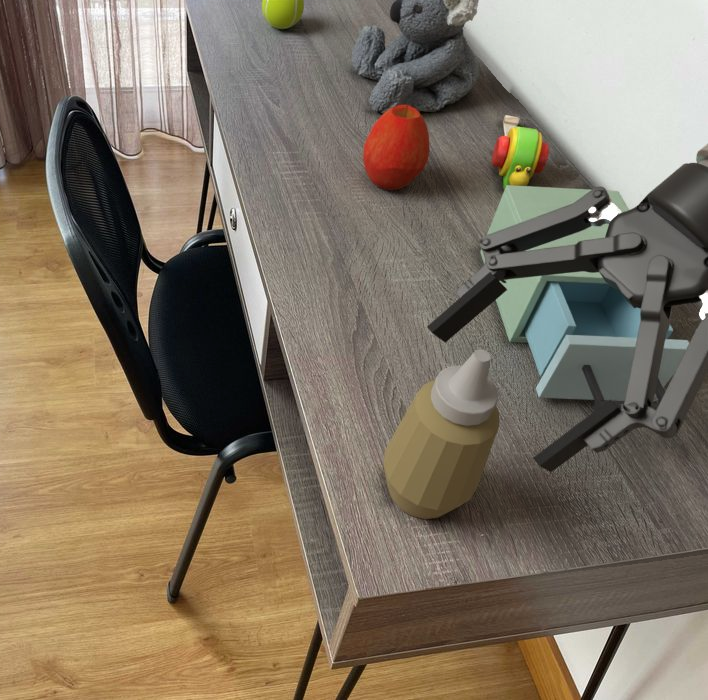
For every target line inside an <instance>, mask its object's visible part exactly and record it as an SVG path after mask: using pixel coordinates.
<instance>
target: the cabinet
mask: <svg viewBox="0 0 708 700" xmlns="http://www.w3.org/2000/svg"><path fill="white" fill-rule="evenodd" d="M591 190H592V189H587V188H586V189H585V188H568V187H567V188H566V187H549V186H529V185H527V186H513V185H506V188H505V190H504V189H503V193H502V195H501V198H500V200H499V204H498V206H497V208H496V211H495V213H494V216H493V218H492V221H491V224H490V226H489V229H488V232H487V234H486V235H489V234H491V233H494V232H497V231H500V230H502V229H505V228H508V227H510V226H513V225H516V224H518V223H521V222H524V221H527V220H529V219H532V218H535V217H537V216H540V215H543V214H546V213H548V212H551V211H554V210H556V209H559V208H562V207H565V206H567V205H570V204H573V203H574V202H576V201H577V200H579V199H580V198H581V197H583V196H584V195H585V194H587V193H588V192H590V191H591ZM606 191H607V192H608V194H609V196H610V198H611V200H612V202H613V203H614V204H615V205H616V206H617V207H618V208H619V209H620V210H621V211H622V212H625V211H628V210H630V209H629V207H628V205H627V203H626V202H625V200H624V198H623V197H622V195H621V193H620V191H619V190H607V189H606ZM608 226H609V224H603V225H602V226H600V227H599V226H591V227H589V228H587V229H585V230H583V231H580V232H577V233H575V234H572V235H569V236H566V237H563V238H560V239H557V240H554V241H552V242H549V243H546V244H543V245H540V246H537V247H534V248H531V249H529V250H536V249H544V248H551V247H559V246H567V245H574V244H577V243H578V242H579V241H583V240H590V239H598V238H605V236H606V232H607V229H608ZM526 251H528V250H526ZM479 253H480V257H481V259H482V262H483V264H484V263H485V257H484V254H483V251H482V249H481V248H480V251H479ZM505 281H506V283H503V282H501V281H500V282H501V283H502V284H503V286H504V287H505V288H506V289H507V291H506V292H504V293H503V294H502V295H501V296H500V297H498V298H497V299H496V300H495V302H496V305H497V308H498V311H499V314H500V318H501V320H502V324H503V326H504V330H505V333H506V337H507V339H508V341H509V343H519V344H520V343H521V344H522V343H523V344H529V343H528V340H527V337H526V335H525V332H524V329H523V328H524V326H525V324H526V322H527V320H528V318H529V316H530V314H531V312H532V310H533V308H534V306H535V304H536V302H537V300H538V298H539V296H540V294H541V292H542V290H543V288H544V286H545V284H546V282H547V281H559V282H580V283H601V284H608V283H607V282H606V281H605V280H604V279H603V277H602V276H601V274H600V273H599V272H596V273H589V272H585V271H581V272H572V273H563V274H554V275H544V276H535V277H526V278H517V279H507V280H505Z"/></svg>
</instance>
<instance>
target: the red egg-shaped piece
mask: <svg viewBox="0 0 708 700" xmlns="http://www.w3.org/2000/svg"><path fill="white" fill-rule="evenodd" d="M362 154H363V155H362V161H363V166H364V170H365V172H366V174H367V177H368V178H369V181H370V182H371V183H372V184H373V185H375V187H377V188H380V189H383V190H387V191H388V190H399V189H402V188H405V187H406V186H408V184H410V183H411V182H412V181H413V180H414V179H415V178H416V177H418V176H419V175H420V174H421V173H423V171H424V170H425V167H426V165H427V163H428V161H429V157H430V134H429V130H428V126H427V123H426V120H425V118H424V117H423V115H422V114H421V113H420V112H418V111H417V110H416V109H415V108H413V107H411V106H409V105H398V106H395V107H393V108H390V109H389V110H387V111H386V112H385V113H384V114H383V113H382V115H380V117H379V118H378V119H377V120H376V121H375V122H374V124H373V125H372V128H371V129H370V132H369V134H368V136H367V137H366V141H365V142H364V145H363V153H362Z"/></svg>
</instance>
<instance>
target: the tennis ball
mask: <svg viewBox="0 0 708 700" xmlns="http://www.w3.org/2000/svg"><path fill="white" fill-rule="evenodd" d="M304 10H305V1H304V0H261V12H262V15H263V18H264V20H265V21H266V22H267V23H268V24H269V25H270V26H271V27H273V28H275V29H279V30H286V29H290V28H292V27H294V26H295V25H297V24H298V22H299V21H300V20H301V19H302V16H303V14H304Z"/></svg>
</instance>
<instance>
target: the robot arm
mask: <svg viewBox="0 0 708 700" xmlns="http://www.w3.org/2000/svg"><path fill="white" fill-rule="evenodd" d="M695 161H696V162H689V163H688V162H687V163H686V162H685V163H683V164H682V165H680V166H679V167H678V168H677V169H675V171H674V172H672V173H671V174H669V176H668V177H666V178H665V179H664V180H663V181H661V182H660V183H659V184H658V185H657V186H656V187H654V188H653V189H652V190H651V191H649V193H648V194H646V195H645V196H644V198H642V200H641V201H640V202H639V204H637V205H636V206H635V207H633V208H631V209H629V210H628V211H625V212H622V211H621V210H620V209H619V208H618V207H617V206H616V205H615V204H614V203H613V202H612V200H611V198H610V196H609V194H608V192H607V191H608V190H607V189H606V188H605V187H603V186H596V187H594V188H592V189H590V190H591V191H590V192H588V193H587V194H585V195H584V196H583V197H581V198H580V199H579V200H577V201H576V202H574V203H573V204H570V205H567V206H565V207H562V208H559V209H556V210H554V211H551V212H548V213H546V214H543V215H540V216H537V217H535V218H532V219H529V220H527V221H524V222H521V223H518V224H516V225H513V226H510V227H508V228H505V229H502V230H500V231H497V232H494V233H491V234H489V235H487V234H486V235H484V236H482V237H481V238H480V239H479V241H478V246H479V247H480V250H481V249H482V251H483V254H484V257H485V263H484V262H483V265H482V267H480V268H479V269H478V270H477V271H476V272H474V274H472V275H471V276H470V277H469V278H468V279H466V281H465V282H464V283H462V284H461V285H460V286H459V287H458V288H457V290H456V292H455V295H456V296H457V297H458V299H457V300H456V301H454V302H453V303H452V304H451V305H450V306H449V307H448V308H447V309H445V310H444V311H443V312H441V314H440V315H438V316H437V317H436V318H435V319H434V320H433V321H431V322H430V323H429V324H428V325H427V326H426V328H427V329H428V330H429V331H430V333H432V334H433V335H434V336H435V337H437V338H438V339H439V340H441V341H442V342H443V343H445V344H446V343H447V342H448V341H449V340H451V339H452V338H453V337H454V336H455V335H456V334H457V333H459V332H460V331H461V330H462V329H463V328H465V327H466V326H467V325H468V324H469V323H470V322H471V321H473V320H474V319H475V318H477V316H478V315H480V314H481V313H482V312H483V311H485V310H486V309H487V308H488V307H489V306H490V305H491V304H493V303H494V302H496V299H497V298H498V297H500V296H501V295H502V294H503V293H504V292H506V291H507V289H506V288H505V287H504V286H503V284H502V283H501V282H503V283H506V281H505V280H507V279H517V278H526V277H535V276H544V275H554V274H563V273H572V272H581V271H585V272H589V273H596V272H599V273H600V274H601V276H602V277H603V279H604V280H605V281H606V282H607V283H608V284H609V285H610V286H611V287H612V288H614V289H616V290H618V291H620V292H621V293H622V294H623V296H624V297H625V299H626V300H627V302H628V303H629V304H630V305H632V306H633V307H634V308H636V307H637V308H640V309H641V311H640V318H641V320H640V326H639V331H638V336H637V341H636V346H635V351H634V356H633V361H632V366H631V371H630V376H629V381H628V386H627V392H626V397H625V402H624V405H623V404H621V409H620V408H619V407H618V406H617V405H616V404H615V403H614V402H613V401H612V400H611V399H610V400H607V401H608V402H606V403H605V404H604V405H602V406H601V407H600V408H598V409H597V410H596V411H593V412H591V413H590V414H589V415H587V416H586V417H584V418H583V420H580V422H578V423H577V424H576V425H574V426H572V428H570V429H569V430H567V431H566V432H565V433H564V434H562V435H561V436H560V437H558V438H557V439H556V440H555V441H553V442H552V443H550V444H549V445H548V446H547V447H545V448H544V449H543V450H541V451H540V452H539V453H537V454H536V455H534V456H533V457H532V459H533V460H534V462H536V464H537V465H538V466H539V468H541V469H543V470H546V471H547V472H549V473H552V472H554V471H556V470H557V469H558V468H559V467H561V466H562V465H564V464H565V463H566V462H567V461H569V460H570V459H571V458H573V457H574V456H576V455H577V454H578V453H579V452H581V451H582V450H583V449H585V448H586V447H589V448H590V449H591V450H592V451H593V452H595V453H601V452H605V451H607V450H608V449H609V448H611V447H612V446H613V445H615V444H616V443H617V442H619V441H620V440H621V439H623V438H624V437H626V436H627V435H628V434H630V433H632V432H633V431H634V430H636V429H638V428H644V429H648V430H649V431H651V432H654V433H656V434H657V435H660V437H662V438H664V439H673V438H675V437H677V436H678V434H679V432H680V430H681V428H682V425H683V424H684V421H686V417H687V416H688V413H689V412H690V410H691V407H692V405H693V404H694V401H695V399H696V397H697V396H698V393H699V391H700V389H701V387H702V385H703V383H704V381H705V380H706V378H707V375H708V143H706V144H704V146H703V147H701V148H700V149H699V150H698V151H697V153H696V157H695ZM606 190H607V191H606ZM603 224H609V226H608V229H607V232H606V236H605V238H598V239H590V240H583V241H579V242H578V243H577V244H574V245H567V246H559V247H551V248H544V249H536V250H529V249H531V248H534V247H537V246H540V245H543V244H546V243H549V242H552V241H554V240H557V239H560V238H563V237H566V236H569V235H572V234H575V233H577V232H580V231H583V230H585V229H587V228H589V227H591V226H599V227H600V226H602V225H603ZM526 250H528V251H526ZM500 281H501V282H500ZM700 302H701V303H702V306H701V308H700V309H699V313H698V315H699V316H698V317H699V319H700V320H701V321H700V322H699V324H698V326H697V327H696V329H695V331H694V332H693V334H692V337H691V339H690V341H689V345H688V347H687V349H686V351H685V353H684V355H683V357H682V359H681V361H680V363H679V365H678V367H677V369H676V371H675V373H674V374H673V376H672V377H671V378H670V380H669V382H668V386H667V388H666V390H664V391H665V393H664V396H663V398H662V400H661V402H659V403H660V404H659V406H658V408H657V410H655V409H653V408H652V406H653V403H654V400H655V399H654V396H655V390H656V385H657V380H658V375H659V369H660V364H661V359H662V354H663V349H664V343H665V338H666V333H667V331H668V330H669V326H670V325H671V322H672V321H671V320H672V315H673V309H674V307H675V306H682V305H689V304H696V303H700Z"/></svg>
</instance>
